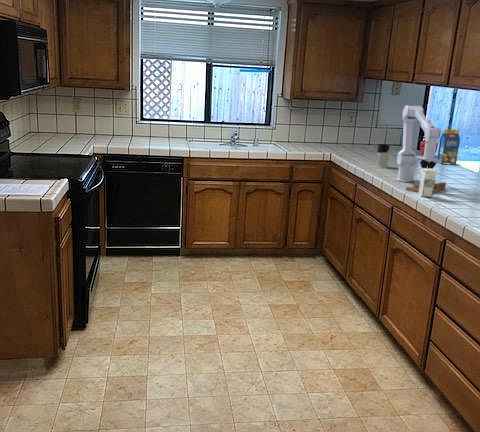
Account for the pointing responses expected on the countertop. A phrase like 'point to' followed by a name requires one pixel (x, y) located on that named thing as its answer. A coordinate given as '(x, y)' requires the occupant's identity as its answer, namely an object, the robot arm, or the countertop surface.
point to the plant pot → (424, 147)
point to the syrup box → (427, 182)
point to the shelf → (436, 188)
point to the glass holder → (381, 155)
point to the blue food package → (449, 146)
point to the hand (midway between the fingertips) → (426, 174)
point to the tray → (418, 183)
